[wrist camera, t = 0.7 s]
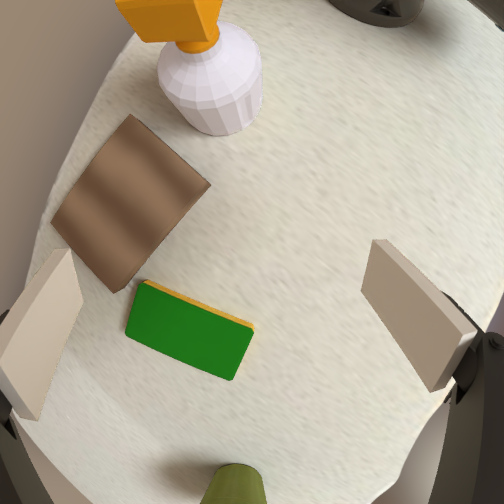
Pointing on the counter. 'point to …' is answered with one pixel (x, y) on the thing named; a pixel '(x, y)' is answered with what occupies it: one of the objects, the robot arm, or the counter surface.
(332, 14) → the counter surface
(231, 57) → the soap bottle
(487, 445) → the robot arm
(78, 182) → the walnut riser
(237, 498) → the plant pot
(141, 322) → the dish sponge
